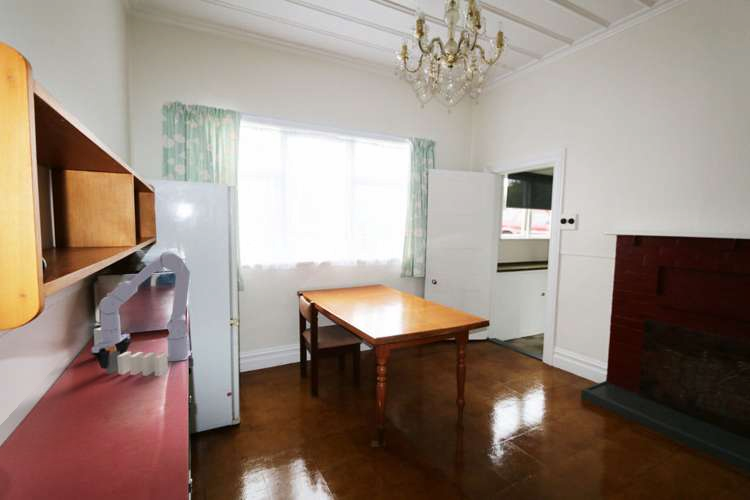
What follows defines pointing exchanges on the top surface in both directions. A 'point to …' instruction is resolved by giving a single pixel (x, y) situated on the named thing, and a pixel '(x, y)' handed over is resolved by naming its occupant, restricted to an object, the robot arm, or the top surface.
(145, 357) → the ivory domino
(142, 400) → the top surface
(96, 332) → the skincare box
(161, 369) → the ivory domino
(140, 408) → the top surface
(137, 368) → the ivory domino
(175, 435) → the top surface
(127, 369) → the ivory domino
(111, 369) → the charcoal domino
